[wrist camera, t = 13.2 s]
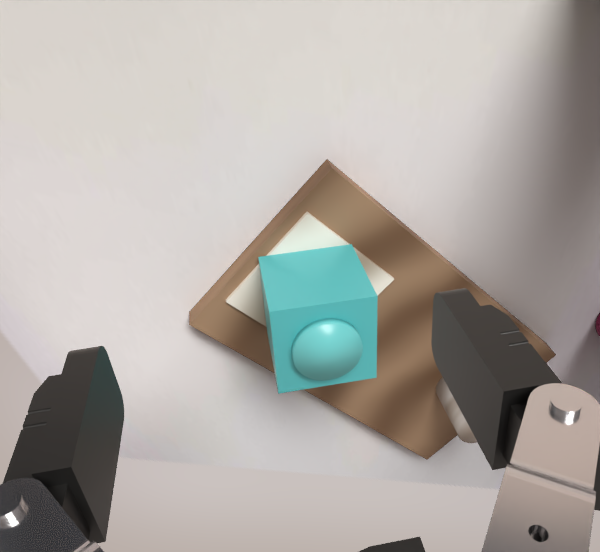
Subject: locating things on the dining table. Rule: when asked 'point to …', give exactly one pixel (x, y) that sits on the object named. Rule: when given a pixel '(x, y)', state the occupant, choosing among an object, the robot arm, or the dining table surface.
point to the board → (390, 309)
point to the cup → (598, 324)
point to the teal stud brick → (319, 317)
